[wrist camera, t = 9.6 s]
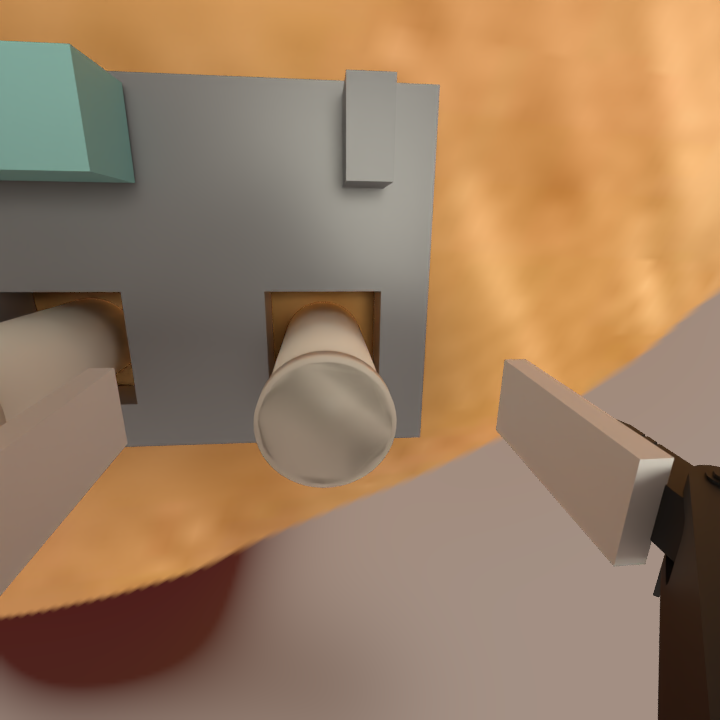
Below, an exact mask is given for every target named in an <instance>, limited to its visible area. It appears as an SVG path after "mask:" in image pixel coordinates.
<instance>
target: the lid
mask: <svg viewBox="0 0 720 720" xmlns="http://www.w3.org/2000/svg"><path fill="white" fill-rule="evenodd" d="M0 180H9V181H61V182H112V183H135V179H134V171H133V163H132V156H131V148H130V141H129V133H128V126H127V118H126V111H125V103H124V96H123V88H122V82H120V81H119V80H118V79H116V78H115V77H113V76H112V75H111V74H109V73H108V72H107V71H105V70H104V69H103V68H101V67H100V66H99V65H97V64H96V63H95V62H93V61H92V60H91V59H89V58H88V57H87V56H85V55H84V54H83V53H81V52H80V51H78V50H77V49H76V48H74V47H73V46H72V45H70V44H62V43H40V42H19V41H0Z"/></svg>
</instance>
